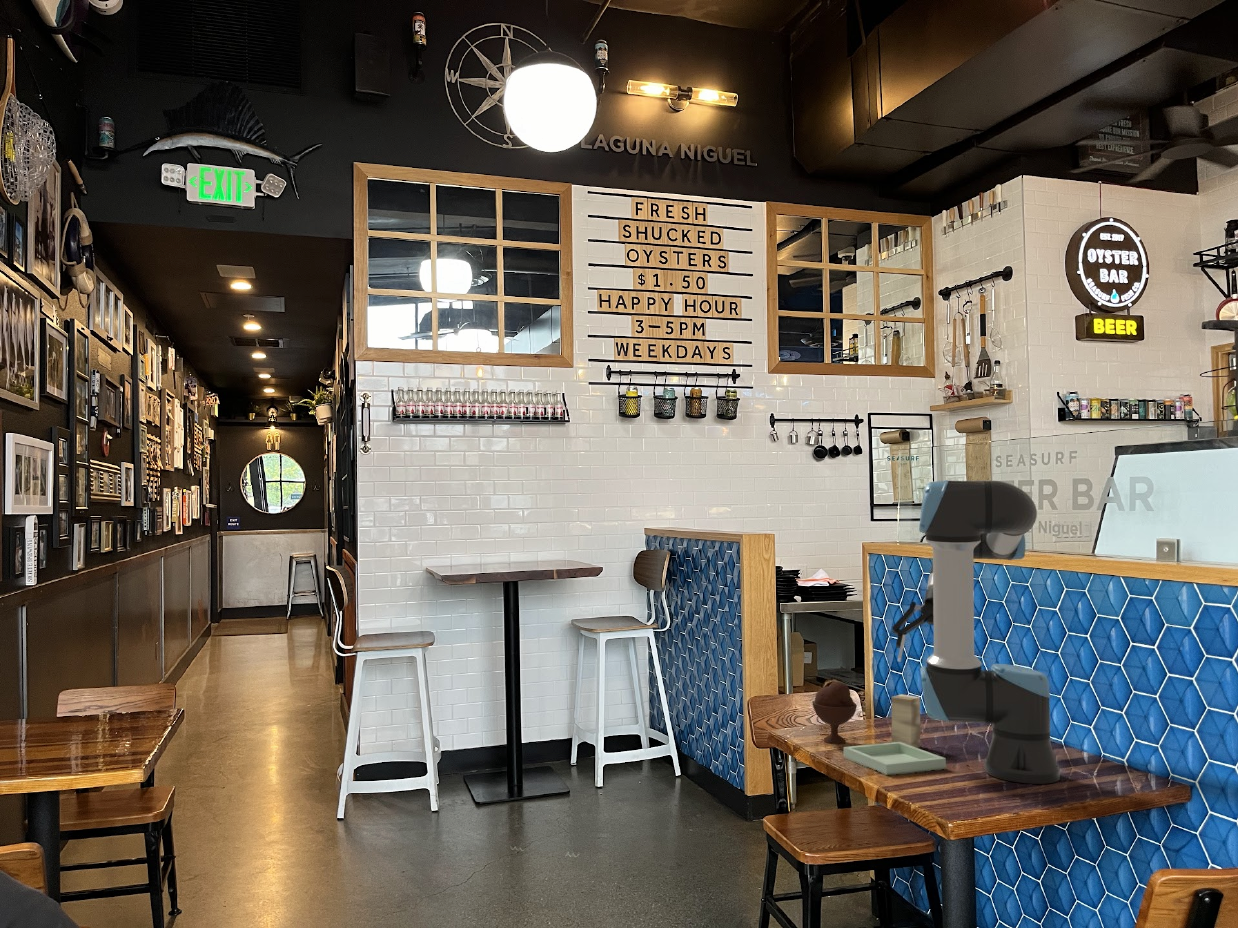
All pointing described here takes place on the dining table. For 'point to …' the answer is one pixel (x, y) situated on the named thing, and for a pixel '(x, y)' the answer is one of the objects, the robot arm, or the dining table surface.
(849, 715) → the ice cream bowl
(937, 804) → the dining table surface
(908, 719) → the block
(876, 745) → the tray
